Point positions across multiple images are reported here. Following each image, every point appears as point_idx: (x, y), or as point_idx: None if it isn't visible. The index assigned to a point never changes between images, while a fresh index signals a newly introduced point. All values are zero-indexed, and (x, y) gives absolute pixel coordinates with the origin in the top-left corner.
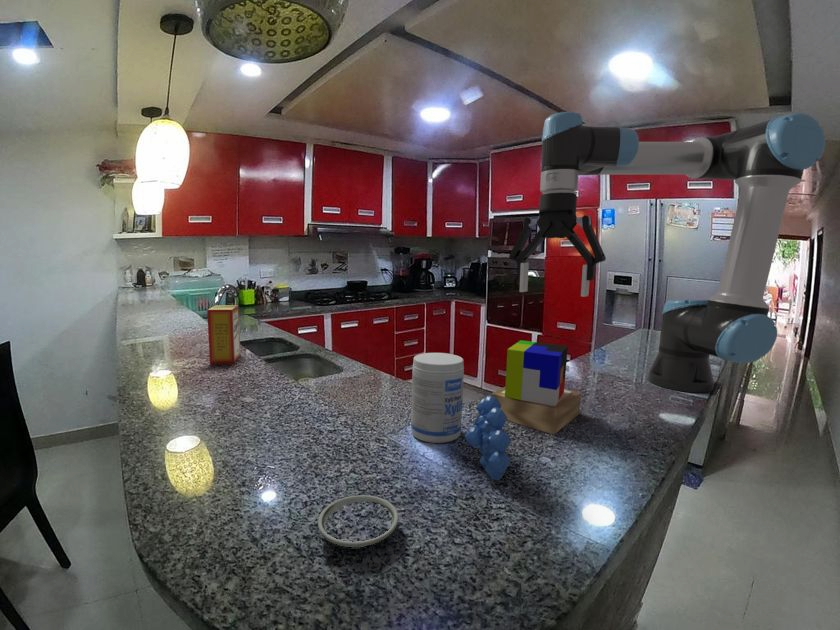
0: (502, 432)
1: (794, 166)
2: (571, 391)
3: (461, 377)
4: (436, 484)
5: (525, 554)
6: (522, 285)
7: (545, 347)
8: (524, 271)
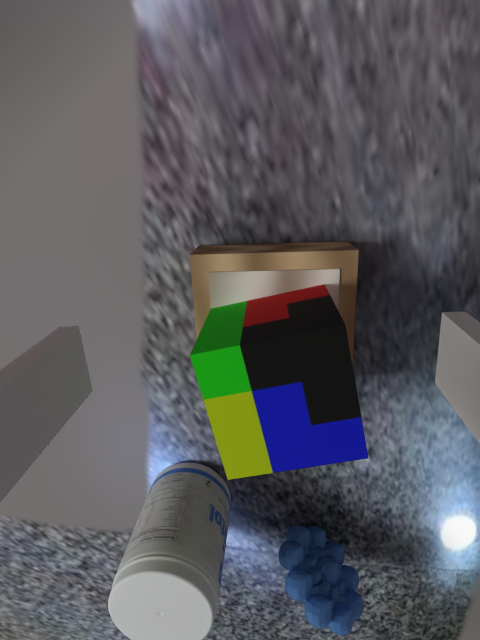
0: (356, 619)
1: None
2: (335, 259)
3: (218, 579)
4: (282, 581)
5: (411, 614)
6: (73, 412)
7: (296, 391)
8: (21, 455)
